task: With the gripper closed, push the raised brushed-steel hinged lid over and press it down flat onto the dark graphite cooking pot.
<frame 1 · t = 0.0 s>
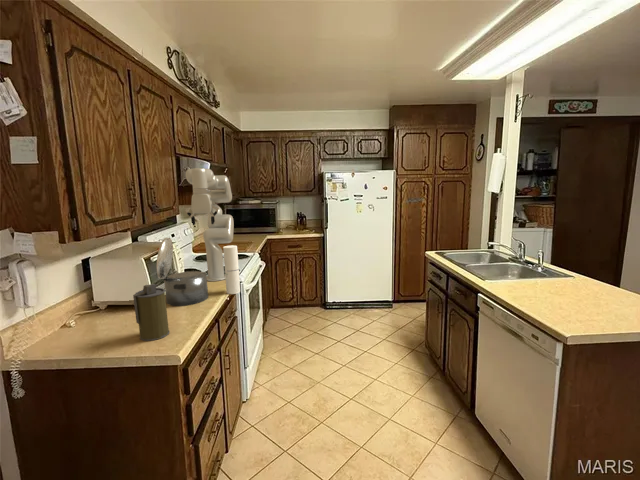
hand: (203, 224, 178), 37 cm above the countertop, tool pointing down, fingers open, 9 cm apart
canister: (154, 335, 129), on the countertop
cooker pot: (187, 299, 170), on the countertop
cylindrical container: (233, 292, 180), on the countertop
cooker lid: (163, 257, 166), point 22 cm above the countertop, hinge at 80.0°
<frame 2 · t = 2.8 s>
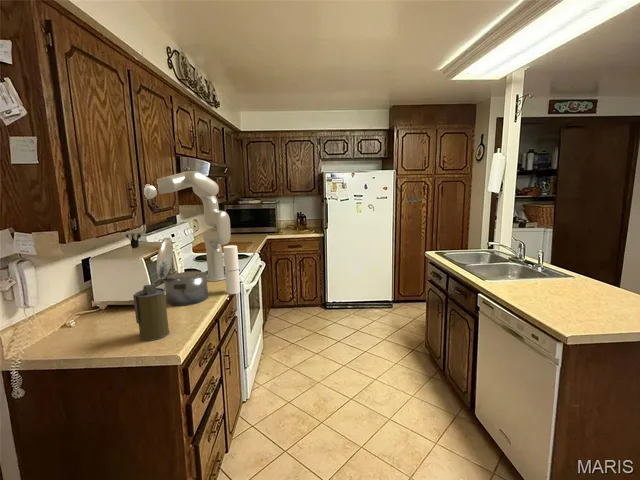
hand: (135, 247, 163), 28 cm above the countertop, tool pointing down, fingers closed
nothing on the countertop moved.
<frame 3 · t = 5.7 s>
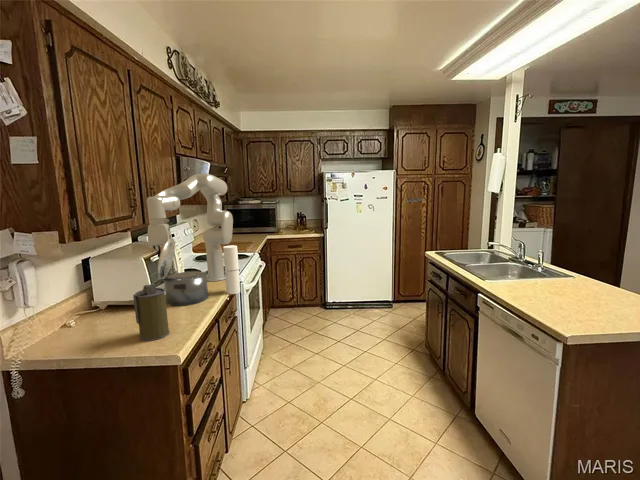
hand: (161, 258, 166), 22 cm above the countertop, tool pointing down, fingers closed
cooker lid: (165, 257, 166), point 22 cm above the countertop, hinge at 75.7°, touching gripper
everything else where it was.
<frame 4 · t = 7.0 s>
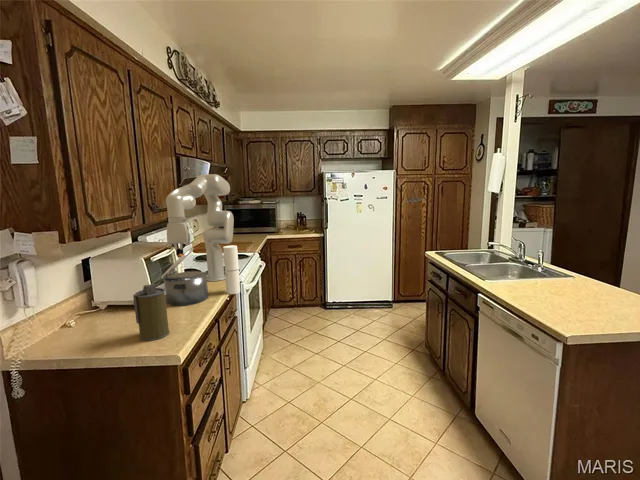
hand: (180, 257, 167), 22 cm above the countertop, tool pointing down, fingers closed
cooker lid: (176, 261, 167), point 20 cm above the countertop, hinge at 42.5°
everything else where it was.
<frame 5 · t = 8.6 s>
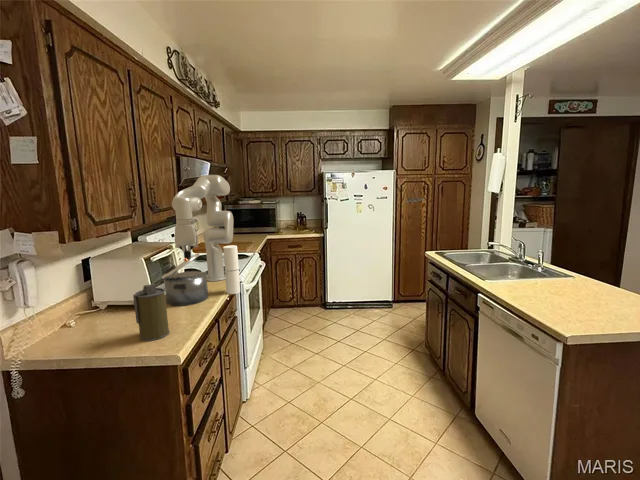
hand: (187, 258, 167), 21 cm above the countertop, tool pointing down, fingers closed
cooker lid: (180, 264, 167), point 18 cm above the countertop, hinge at 30.3°, touching gripper
everything else where it was.
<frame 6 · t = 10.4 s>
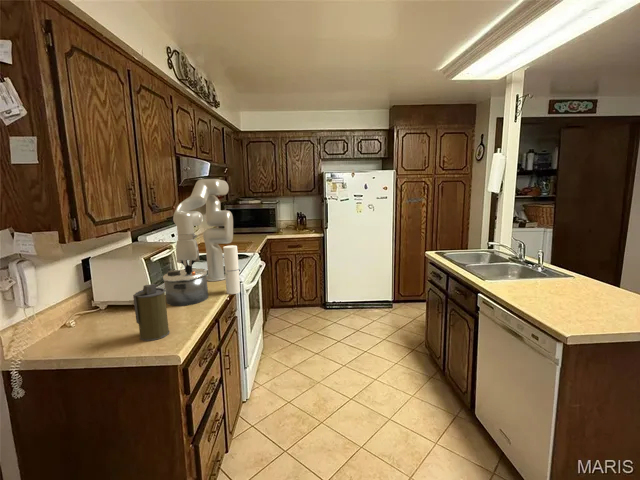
hand: (189, 273, 168), 14 cm above the countertop, tool pointing down, fingers closed
cooker lid: (185, 273, 168), point 14 cm above the countertop, hinge at 1.1°, touching gripper
everything else where it was.
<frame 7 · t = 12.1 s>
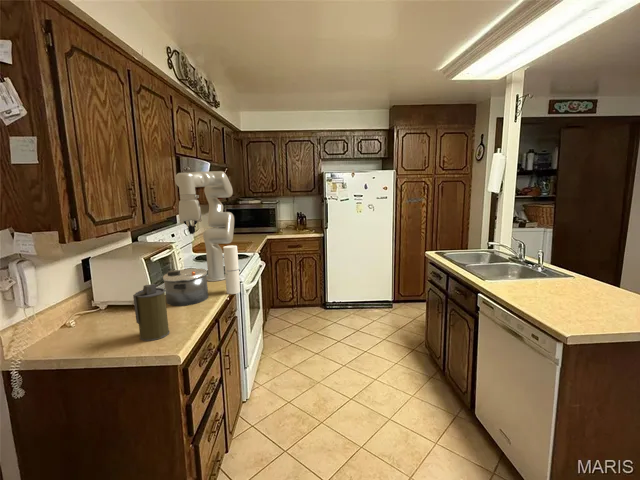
hand: (192, 233, 172), 33 cm above the countertop, tool pointing down, fingers closed
cooker lid: (185, 273, 168), point 14 cm above the countertop, hinge at 1.0°
everything else where it was.
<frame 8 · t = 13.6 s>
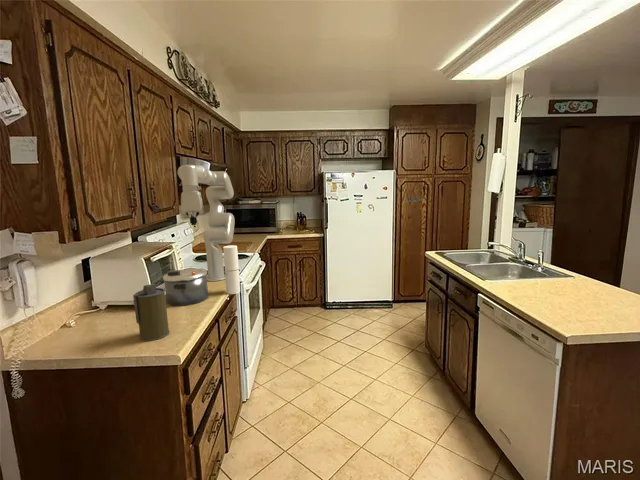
hand: (193, 224, 174), 37 cm above the countertop, tool pointing down, fingers closed
nothing on the countertop moved.
at the end: cooker lid at +1° (first picture: +80°); cylindrical container moved 0.2 cm from its start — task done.
